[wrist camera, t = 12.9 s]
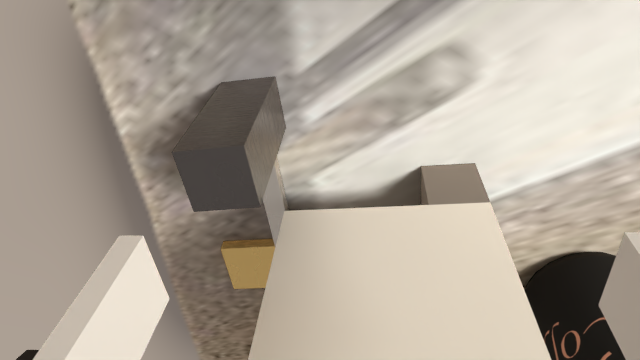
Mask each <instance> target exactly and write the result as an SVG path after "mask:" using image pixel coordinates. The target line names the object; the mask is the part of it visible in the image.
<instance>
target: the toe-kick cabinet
mask: <svg viewBox="0 0 640 360" xmlns="http://www.w3.org/2000/svg"><path fill="white" fill-rule="evenodd" d="M248 360H551V358H550V355H549V352H548V350H547V347H546V345H545V342H544V340H543V337H542V334H541V332H540V329H539V327H538V324H537V322H536V319H535V316H534V314H533V311H532V309H531V306H530V304H529V301H528V298H527V296H526V293H525V291H524V288H523V286H522V283H521V280H520V278H519V275H518V273H517V270H516V268H515V265H514V262H513V260H512V257H511V255H510V252H509V250H508V247H507V244H506V242H505V239H504V237H503V234H502V232H501V229H500V226H499V224H498V221H497V219H496V216H495V214H494V211H493V208H492V206H491V203H490V201H489V198H488V196H487V193H486V190H485V188H484V185H483V183H482V180H481V178H480V175H479V172H478V170H477V167H476V165H475V163H474V164H455V165H436V166H421V205H415V206H391V207H367V208H343V209H319V210H295V211H284V214H283V218H282V222H281V226H280V230H279V235H278V239H277V243H276V247H275V251H274V255H273V259H272V263H271V267H270V271H269V275H268V280H267V284H266V288H265V292H264V296H263V300H262V304H261V308H260V312H259V316H258V321H257V325H256V329H255V333H254V337H253V341H252V345H251V349H250V353H249V357H248Z"/></svg>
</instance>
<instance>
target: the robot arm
mask: <svg viewBox="0 0 640 360" xmlns="http://www.w3.org/2000/svg"><path fill="white" fill-rule="evenodd" d="M168 301H169V296H168V294H167V291H166V289H165V287H164V284H163V282H162V279H161V277H160V275H159V272H158V270H157V267H156V265H155V263H154V261H153V258H152V256H151V253H150V251H149V248H148V246H147V244H146V241H145V239H144V236H119V237H118V238H117V239H116V241H115V242H114V244H113V245H112V247H111V248H110V250H109V251H108V252H107V254H106V255H105V257H104V258H103V260H102V261H101V262H100V264H99V265H98V267H97V268H96V270H95V271H94V273H93V274H92V275H91V277H90V278H89V280H88V281H87V283H86V284H85V285H84V287H83V288H82V290H81V291H80V293H79V294H78V295H77V297H76V298H75V300H74V301H73V303H72V304H71V305H70V307H69V308H68V310H67V311H66V313H65V314H64V315H63V317H62V318H61V320H60V321H59V323H58V324H57V325H56V327H55V328H54V330H53V331H52V333H51V334H50V336H49V337H48V338H47V340H46V341H45V343H44V344H43V346H42V347H41V348H40V350H26V351H25V352H24V353H23V354H22V355H21V356H20V357H18V358H17V359H16V360H141V357H142V355H143V353H144V351H145V349H146V347H147V345H148V343H149V341H150V339H151V337H152V334H153V332H154V330H155V328H156V326H157V324H158V322H159V320H160V318H161V315H162V313H163V311H164V309H165V307H166V305H167V303H168ZM599 307H600V309H601V311H602V313H603V315H604V317H605V319H606V321H607V323H608V325H609V327H610V329H611V331H612V333H613V335H614V337H615V339H616V341H617V343H618V345H619V347H620V349H621V351H622V353H623V355H624V357H625V359H626V360H640V232H625V233H624V236H623V238H622V241H621V244H620V247H619V249H618V252H617V255H616V258H615V261H614V263H613V266H612V269H611V272H610V274H609V277H608V280H607V283H606V285H605V288H604V291H603V294H602V296H601V299H600V302H599Z"/></svg>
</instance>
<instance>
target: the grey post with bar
mask: <svg viewBox="0 0 640 360" xmlns="http://www.w3.org/2000/svg"><path fill="white" fill-rule="evenodd" d="M285 129H286V125H285V121H284V116H283V111H282V106H281V101H280V97H279V92H278V87H277V82H276V77H266V78H258V79H249V80H240V81H231V82H223V83H221V84H220V85H219V86H218V88H217V89H216V91H215V92H214V93H213V95H212V96H211V98H210V99H209V100H208V102H207V103H206V105H205V106H204V107H203V109H202V110H201V112H200V113H199V114H198V116H197V117H196V119H195V120H194V121H193V123H192V124H191V126H190V127H189V129H188V130H187V131H186V133H185V134H184V136H183V137H182V138H181V140H180V141H179V143H178V144H177V145H176V147H175V148H174V150H173V151H172V154H173V157H174V160H175V162H176V165H177V168H178V170H179V173H180V176H181V178H182V181H183V184H184V187H185V189H186V192H187V195H188V197H189V200H190V203H191V206H192V208H193V211H194V212H197V211H211V210H226V209H240V208H254V207H261V204H262V201H263V203H264V206H265V210H266V214H267V218H268V222H269V225H270V229H271V233H272V237H273V241H274V244H275V247H276V243H277V239H278V235H279V230H280V226H281V222H282V218H283V214H284V211H289V208H288V204H287V199H286V195H285V191H284V186H283V182H282V177H281V173H280V169H279V164H278V160H277V154H278V151H279V147H280V144H281V141H282V138H283V135H284V132H285Z"/></svg>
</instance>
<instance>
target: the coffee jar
mask: <svg viewBox="0 0 640 360" xmlns="http://www.w3.org/2000/svg"><path fill="white" fill-rule="evenodd" d="M615 258H616V256H614V255H611V254H607V253H603V252H583V253H578V254H573V255H568V256H565V257H562V258H560V259H557V260H555V261H553V262H550V263H549V264H547V265H546V266H544V267H543V268H542V269H540V270H539V271H538V272H536V273H535V275H534V276H533V277H532V279H531V280H530V281H529V283H528V284H527V287H526V289H525V293H526V296H527V298H528V301H529V304H530V306H531V309H532V311H533V314H534V316H535V319H536V322H537V324H538V327H539V329H540V332H541V334H542V337H543V340H544V342H545V345H546V347H547V350H548V352H549V355H550V358H551V360H626V359H625V357H624V355H623V353H622V351H621V349H620V347H619V345H618V343H617V341H616V339H615V337H614V335H613V333H612V331H611V329H610V327H609V325H608V323H607V321H606V319H605V317H604V315H603V313H602V311H601V309H600V307H599V302H600V299H601V296H602V294H603V291H604V288H605V285H606V283H607V280H608V277H609V274H610V272H611V269H612V266H613V263H614V261H615Z"/></svg>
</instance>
